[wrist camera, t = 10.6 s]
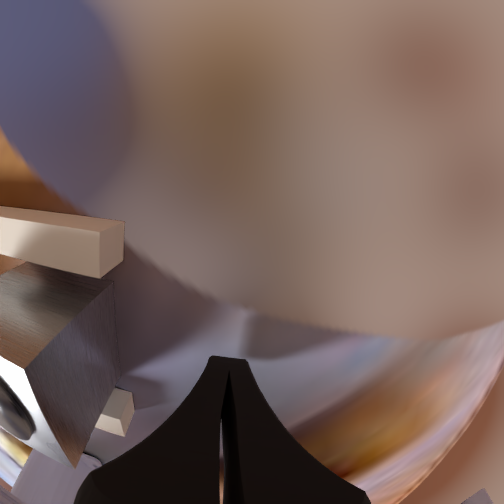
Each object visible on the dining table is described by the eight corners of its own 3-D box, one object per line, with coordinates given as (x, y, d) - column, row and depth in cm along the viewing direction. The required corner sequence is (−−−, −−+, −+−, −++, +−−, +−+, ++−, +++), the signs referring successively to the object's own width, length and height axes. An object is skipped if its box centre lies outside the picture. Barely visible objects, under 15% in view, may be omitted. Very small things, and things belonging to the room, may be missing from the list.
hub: (121, 374, 11) (72, 475, 5) (43, 347, 11) (-19, 418, 5) (114, 280, 10) (17, 376, 4) (28, 260, 9) (-66, 315, 3)
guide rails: (134, 410, 12) (124, 437, 10) (-10, 348, 11) (-26, 363, 9) (125, 221, 9) (99, 232, 7) (-35, 202, 8) (-58, 207, 6)
